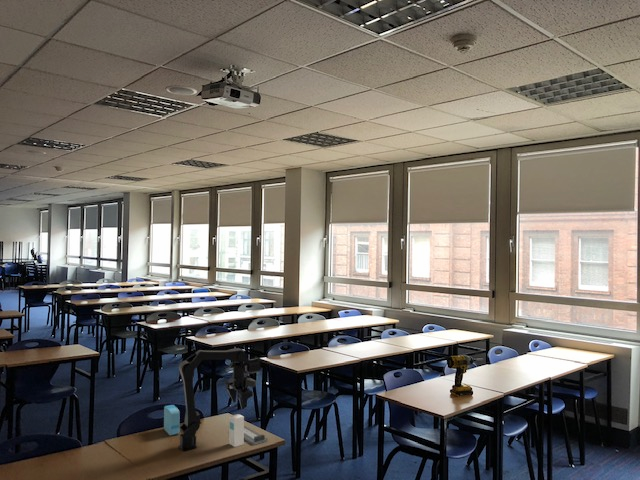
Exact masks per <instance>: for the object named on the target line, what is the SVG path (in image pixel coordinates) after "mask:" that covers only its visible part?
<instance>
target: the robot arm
mask: <svg viewBox="0 0 640 480" xmlns="http://www.w3.org/2000/svg"><path fill="white" fill-rule="evenodd" d="M203 360H228V361H231V362H230V363H228V366H229V367H230V368H232V375H231V378H230V379H229V380H226V381H225V383H224V387H225V388H226V391H227V392H228V394H229V396H230V398H231V401H232V403H236V401H237V398H238V401H239V402H238V403H239V405H240V407H241V410H244V409H245V407H246V404H247V402H248V400H249V398H252V397H254V392H253V391H252V390H251V389H249V388H248V387H251V388H255V385H256V383H257V380H255V379H253V378H251V376H250V375H249V374H255V373H260V372H261V363H260V359H259V358H258V357H256V358H250V359H249V358H248V357H247V355H246V352H245V350H243V349H241V348H239V347H235V348H231V349H227V350H207V349H206V350H202V349H198V350H197V351H195V352H194V354H192V355H190V356H189V357H187V358H186V359H185V360H183V361H181V362H180V363H179V365H178V370H179V372H180V376H181V378H182V382H183V390H184V391H183V392H184V399H185V400H184V401H185V403H184V404H185V413H184V414H185V415H184V420H183V421H184V423H182V424H181V425H180V426H179V432H180V433H181V434H180V433H179V445H178V448H179V449H180V450H181V451H183V452H187V451H189V450H193V449H197V447H198V446H197V436H196V435H197V432H198V430H199V429H200V428H201V427H200V426H201V425H202V422H201V414H200V413H199V412H198V411H196V404H195V402H196V401H195V393H194V383H193V381H194V376H195V370H196V369H197V368H198V367H199V365H200V364H201V363H202V361H203ZM246 373H247V374H246ZM237 395H238V397H237Z"/></svg>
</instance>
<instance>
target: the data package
mask: <svg viewBox="0 0 640 480" xmlns="http://www.w3.org/2000/svg"><path fill="white" fill-rule="evenodd" d="M180 413H181V412H180V410H179V409H178V407H177V406H175V405H174V404H169V405H165V406H164V407H163V429H164V431H165V432H166V433H167V434H168V436H175V435H180V429H179V428H180V419H181V418H180Z"/></svg>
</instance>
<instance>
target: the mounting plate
mask: <svg viewBox="0 0 640 480" xmlns="http://www.w3.org/2000/svg"><path fill="white" fill-rule="evenodd" d="M268 440H269V438H267V437H266V435H265V434H260V433H259V432H256V431H254V430H253V429H251V428H250V427H247V426H246V425H244V442H245V441H246V442H248V443H249V444H250V445H252V446H255V445H259V444H262V442H263V443H265V442H268ZM258 443H259V444H258Z"/></svg>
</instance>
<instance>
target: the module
mask: <svg viewBox="0 0 640 480" xmlns="http://www.w3.org/2000/svg"><path fill="white" fill-rule="evenodd" d="M228 420H229V421H228V422H229V425H228V427H229V431H228V432H229V433H228V434H229V435H228V438H229V440H228V444H229V445H231V446H232V447H233V448H235V447H236V448H237V447H239V446H243V445H245V440H244V426H245V416H243V415H241V414H240V413H236V414H232V415H229V419H228Z"/></svg>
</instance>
